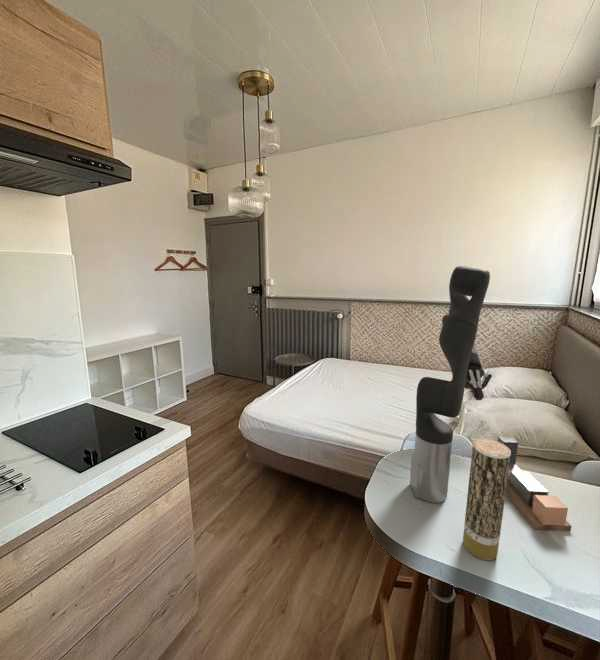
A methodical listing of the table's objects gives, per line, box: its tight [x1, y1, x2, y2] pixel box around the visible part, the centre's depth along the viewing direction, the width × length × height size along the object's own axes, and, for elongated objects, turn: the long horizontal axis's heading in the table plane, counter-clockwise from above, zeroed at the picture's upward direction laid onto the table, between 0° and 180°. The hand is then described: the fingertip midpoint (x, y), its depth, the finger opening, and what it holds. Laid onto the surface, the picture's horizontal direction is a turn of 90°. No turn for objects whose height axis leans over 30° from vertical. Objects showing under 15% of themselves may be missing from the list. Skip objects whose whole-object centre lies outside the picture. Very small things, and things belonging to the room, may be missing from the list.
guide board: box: [505, 479, 573, 532], centre depth 84 cm, size 8×20×2 cm, turn 176°
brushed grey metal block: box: [497, 436, 546, 505], centre depth 86 cm, size 4×16×10 cm, turn 176°
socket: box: [532, 495, 569, 526], centre depth 75 cm, size 5×4×5 cm
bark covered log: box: [462, 438, 511, 561], centre depth 67 cm, size 7×7×25 cm
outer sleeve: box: [509, 471, 549, 506], centre depth 83 cm, size 5×8×4 cm, turn 176°
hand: (479, 399), depth 109 cm, fingers closed
